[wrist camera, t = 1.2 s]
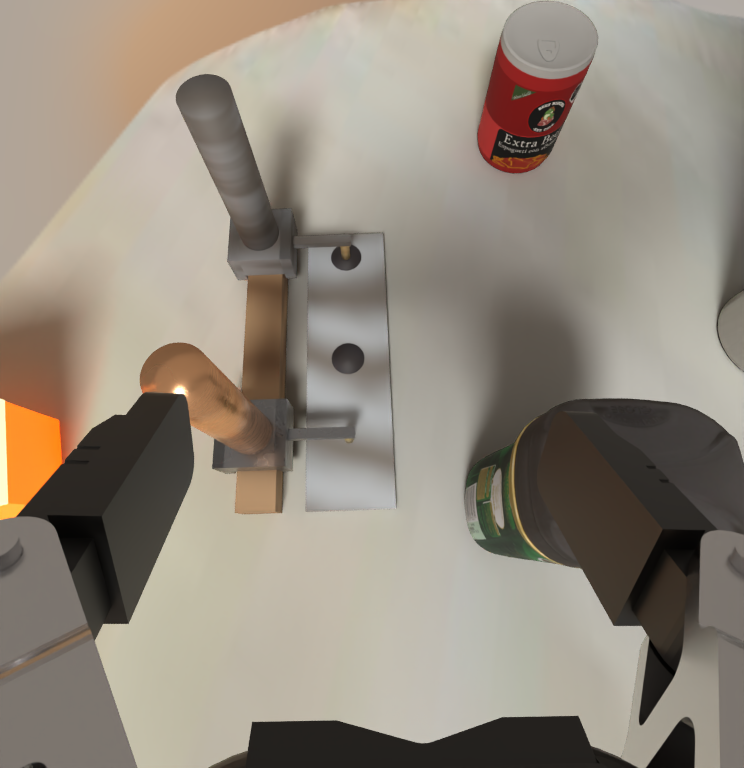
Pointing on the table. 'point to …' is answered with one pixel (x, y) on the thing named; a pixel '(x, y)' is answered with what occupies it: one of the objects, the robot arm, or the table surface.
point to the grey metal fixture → (325, 321)
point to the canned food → (534, 83)
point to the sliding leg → (231, 412)
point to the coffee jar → (637, 426)
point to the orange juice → (25, 455)
